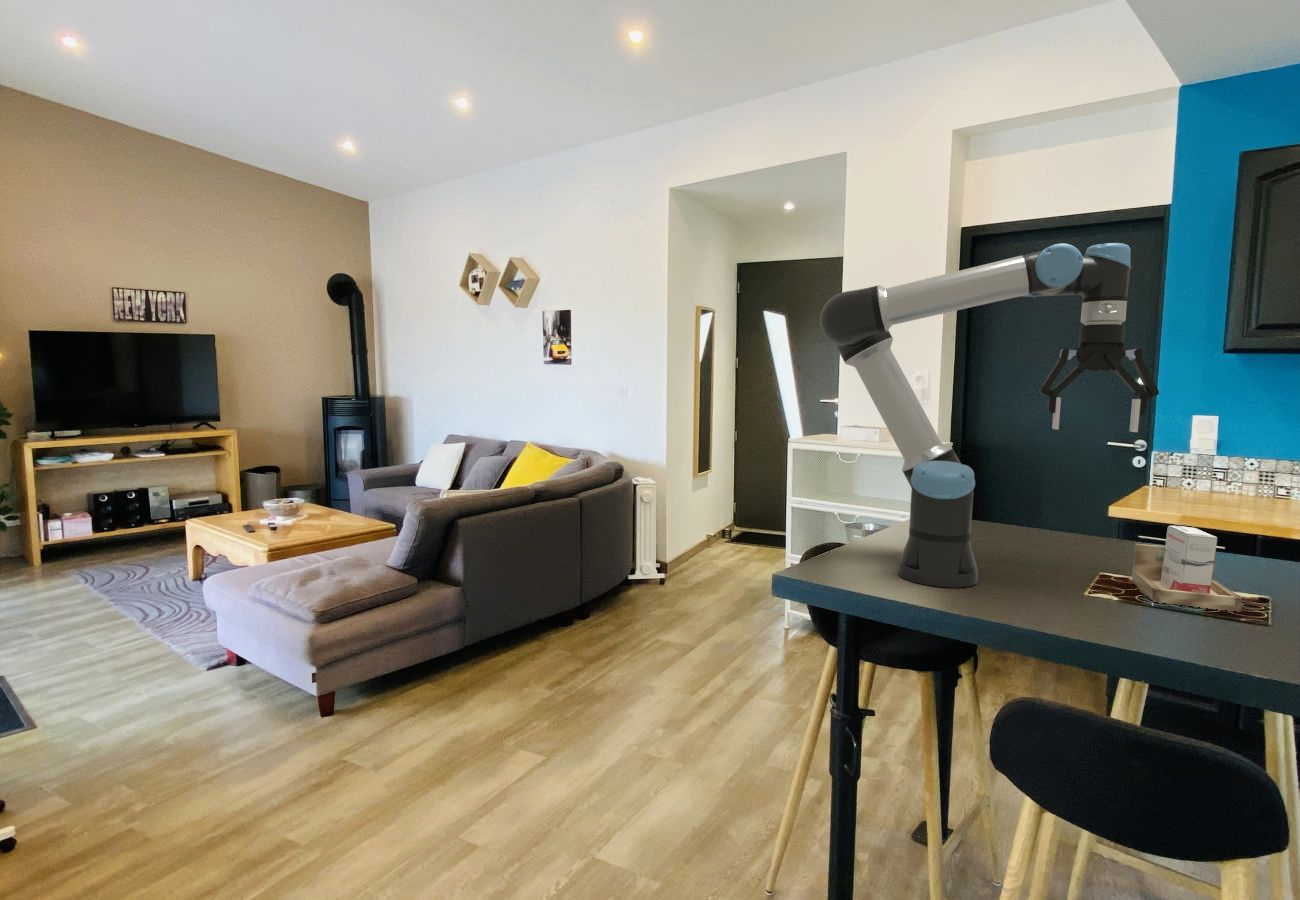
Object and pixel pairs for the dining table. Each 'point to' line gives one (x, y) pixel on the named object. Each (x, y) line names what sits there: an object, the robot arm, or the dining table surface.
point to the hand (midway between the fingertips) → (1093, 430)
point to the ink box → (1188, 559)
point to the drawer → (1149, 583)
